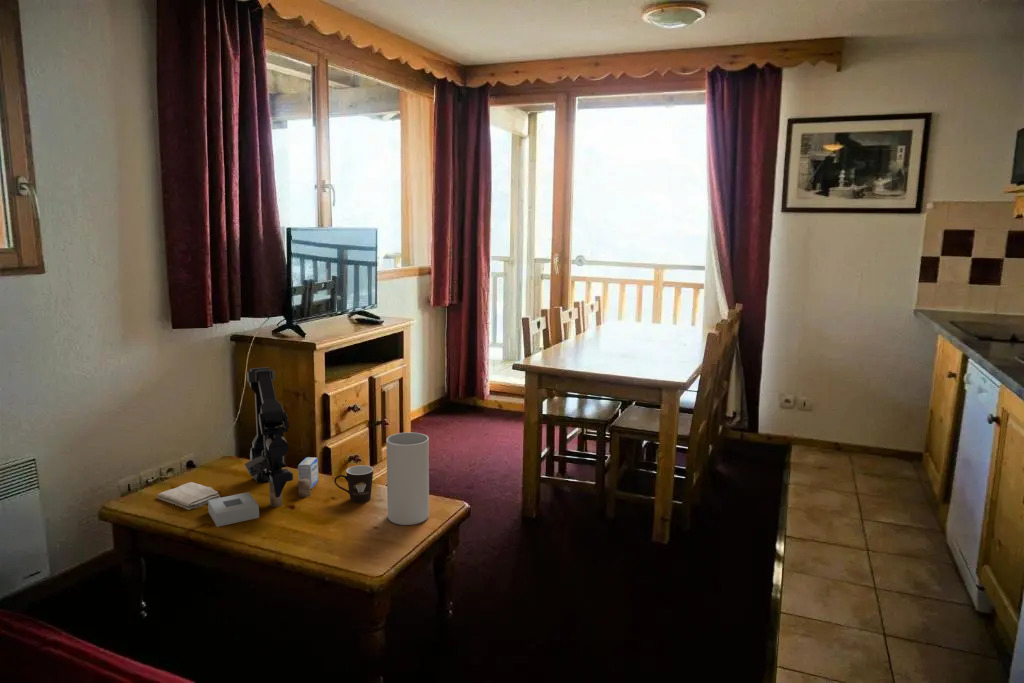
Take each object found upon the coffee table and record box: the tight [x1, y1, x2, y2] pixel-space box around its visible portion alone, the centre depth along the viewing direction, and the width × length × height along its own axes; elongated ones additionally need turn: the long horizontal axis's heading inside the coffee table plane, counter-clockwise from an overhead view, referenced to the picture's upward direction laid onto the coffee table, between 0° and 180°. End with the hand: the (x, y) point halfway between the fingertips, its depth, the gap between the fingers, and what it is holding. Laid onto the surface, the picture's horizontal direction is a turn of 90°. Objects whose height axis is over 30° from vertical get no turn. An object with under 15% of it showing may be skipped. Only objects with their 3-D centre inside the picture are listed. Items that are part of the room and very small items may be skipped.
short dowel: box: [298, 479, 311, 498], centre depth 223 cm, size 4×4×5 cm
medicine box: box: [297, 456, 319, 490], centre depth 231 cm, size 8×4×9 cm, turn 179°
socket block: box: [207, 491, 260, 528], centre depth 207 cm, size 12×12×4 cm
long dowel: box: [268, 481, 283, 508], centre depth 214 cm, size 4×4×9 cm
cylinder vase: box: [386, 432, 430, 526], centre depth 205 cm, size 12×12×25 cm
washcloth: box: [156, 481, 222, 511], centre depth 219 cm, size 12×18×3 cm, turn 60°
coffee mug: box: [334, 464, 374, 504], centre depth 220 cm, size 12×9×10 cm
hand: (275, 495), depth 215 cm, fingers closed on long dowel, 4 cm apart
